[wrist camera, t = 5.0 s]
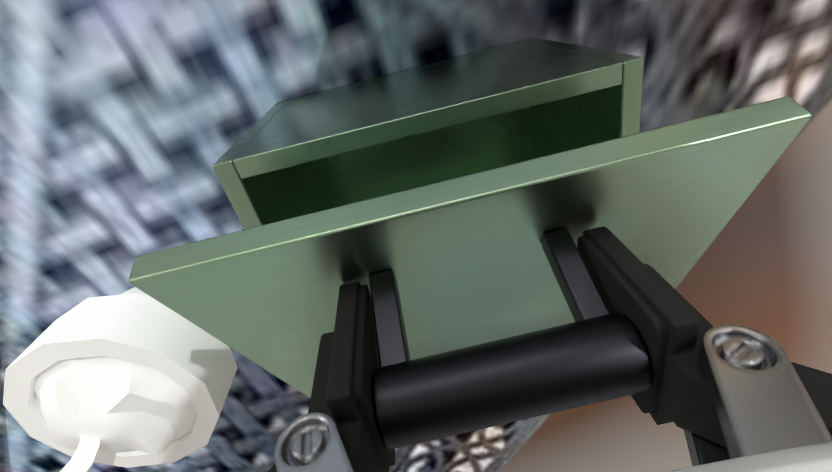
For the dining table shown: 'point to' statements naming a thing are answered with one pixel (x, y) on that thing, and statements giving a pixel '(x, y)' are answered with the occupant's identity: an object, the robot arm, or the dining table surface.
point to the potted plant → (120, 383)
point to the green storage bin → (429, 127)
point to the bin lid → (480, 273)
